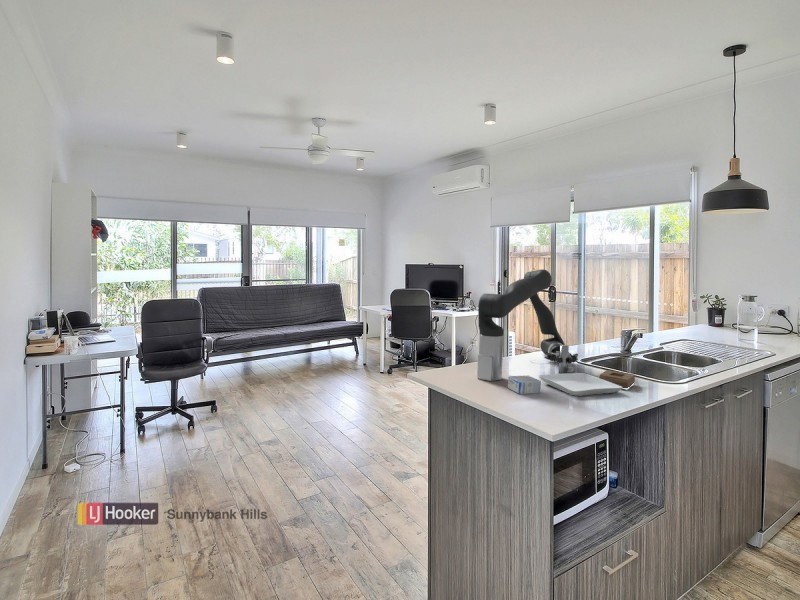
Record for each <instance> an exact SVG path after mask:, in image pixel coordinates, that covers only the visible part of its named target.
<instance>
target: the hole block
mask: <svg viewBox="0 0 800 600" xmlns="http://www.w3.org/2000/svg"><path fill="white" fill-rule="evenodd" d="M598 378H600V379H603V380H606V381H608V382H611V383H614V384H616V385H619V386H621V387H623V388H628V387H630V386H631V385H632V384H633V383H634V382H635V379H636V374H634V373H627V372H622V371H614V370H608V369H607V370H605V371H603V372H601V373H600V374H598ZM634 384H635V383H634Z"/></svg>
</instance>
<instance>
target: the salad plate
mask: <svg viewBox="0 0 800 600" xmlns="http://www.w3.org/2000/svg"><path fill="white" fill-rule="evenodd" d="M538 378H539V379H540V381H541V380H542V382H544V383H545V384H548V385H549V386H551V387H553V388H555V389H557V390H560V391H561V390H562V392H564V393H565V394H568V393H569V394H568V395H571V396H574V395H575V396H576V397H579V396H580V395H584V396H593V395H592V394H597V395H604V394H603V393H607V394H612V393H616V392H619V391H621V390H623V389H622V388H623V387H621V386H619V385H616V384H614V383H611V382H608V381H606V380H603V379H600V378H599V377H597V376H593V375H591V374H588V373H584V372H575V373H565V374H559V373H551V374H539V375H538ZM580 397H581V396H580Z"/></svg>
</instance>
